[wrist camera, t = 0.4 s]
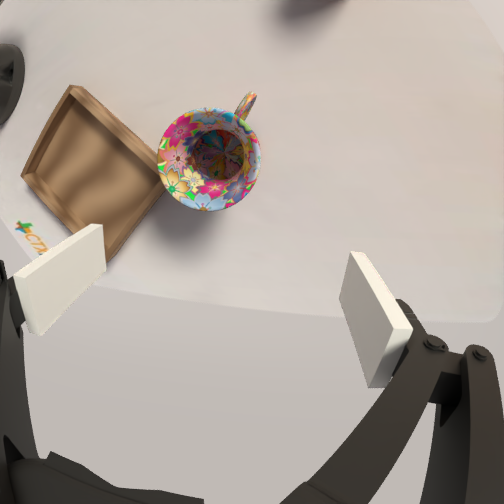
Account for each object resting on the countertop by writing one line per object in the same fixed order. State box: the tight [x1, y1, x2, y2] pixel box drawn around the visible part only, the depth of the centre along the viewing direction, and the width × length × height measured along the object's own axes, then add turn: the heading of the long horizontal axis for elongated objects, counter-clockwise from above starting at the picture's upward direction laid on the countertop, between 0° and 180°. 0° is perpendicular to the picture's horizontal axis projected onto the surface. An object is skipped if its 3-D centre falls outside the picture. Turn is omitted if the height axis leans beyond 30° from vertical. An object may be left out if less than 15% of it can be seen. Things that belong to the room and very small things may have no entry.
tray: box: [21, 85, 166, 263], centre depth 36 cm, size 20×16×3 cm
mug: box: [157, 92, 261, 211], centre depth 30 cm, size 12×9×11 cm
